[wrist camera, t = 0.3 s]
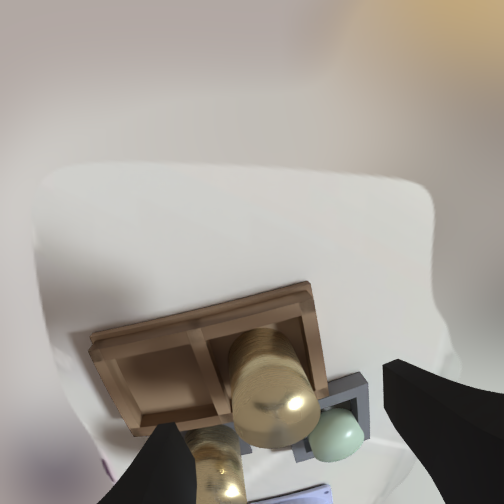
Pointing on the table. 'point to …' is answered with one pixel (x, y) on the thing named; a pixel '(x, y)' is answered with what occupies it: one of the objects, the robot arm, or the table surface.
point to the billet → (217, 465)
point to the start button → (335, 435)
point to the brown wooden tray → (200, 358)
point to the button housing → (340, 392)
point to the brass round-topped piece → (270, 390)
